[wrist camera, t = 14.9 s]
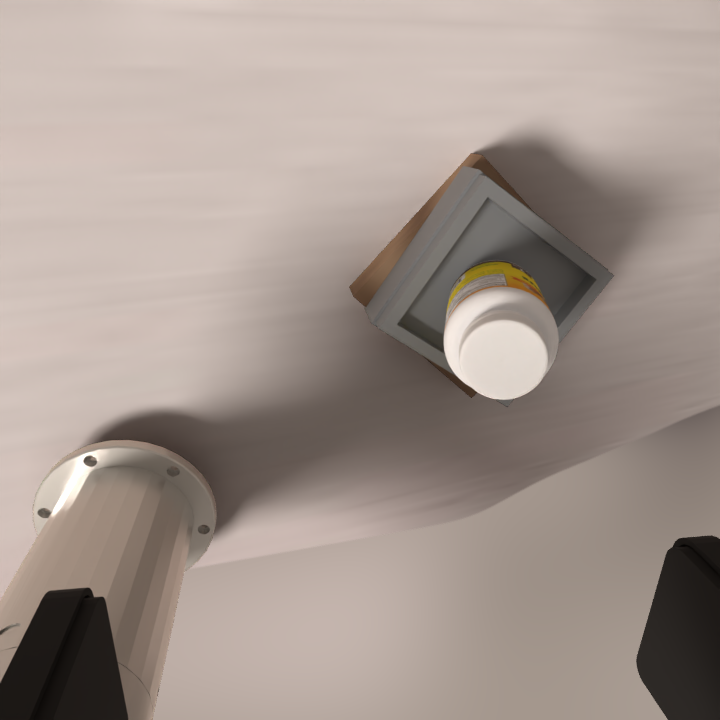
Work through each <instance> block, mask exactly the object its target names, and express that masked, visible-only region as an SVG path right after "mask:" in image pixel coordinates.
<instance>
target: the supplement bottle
mask: <svg viewBox="0 0 720 720" xmlns="http://www.w3.org/2000/svg"><path fill="white" fill-rule="evenodd" d="M558 345H559V335H558V329H557V325H556V322H555V319H554V317H553V315H552V313H551V311H550V309H549V307H548V305H547V303H546V301H545V299H544V297H543V295H542V293H541V291H540V289H539V287H538V285H537V284H536V282H535V280H534V279H533V278H532V276H531V275H530V274H529V273H528V272H527V271H525V270H524V269H523V268H521V267H520V266H518V265H516V264H514V263H511V262H508V261H503V260H489V261H484V262H481V263H478V264H476V265H473V266H472V267H470V268H468V269H467V270H466V271H464V272H463V273H462V274H461V275H460V276H459V277H458V279H457V280H456V281H455V283H454V285H453V287H452V289H451V291H450V295H449V299H448V305H447V313H446V322H445V330H444V351H445V356H446V359H447V361H448V364H449V366H450V367H451V369H452V371H453V372H454V374H455V375H456V376H457V377H458V378H459V379H460V380H461V381H462V382H464V383H465V384H466V385H468V386H470V387H471V388H473V389H474V390H475V391H476V392H478V393H480V394H481V395H484V396H486V397H489V398H492V399H499V400H507V399H514V398H517V397H520V396H523V395H525V394H527V393H528V392H530V391H531V390H533V389H534V388H535V387H536V386H537V385H538V384H539V383H540V382H541V380H542V379H543V377H544V376H545V375H546V373H547V372H548V371H549V370H550V368H551V366H552V364H553V363H554V361H555V358H556V355H557V352H558Z"/></svg>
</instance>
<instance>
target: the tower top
mask: <svg viewBox="0 0 720 720" xmlns="http://www.w3.org/2000/svg"><path fill="white" fill-rule="evenodd" d="M489 260H503V261H508V262H511V263H514V264H516V265H518V266H520V267H521V268H523V269H524V270H525V271H527V272H528V273H529V274H530V275H531V276H532V278H533V279H534V280H535V282H536V284H537V285H538V287H539V289H540V291H541V293H542V295H543V297H544V299H545V301H546V303H547V305H548V307H549V309H550V311H551V313H552V315H553V317H554V319H555V322H556V325H557V329H558V335H559V343H560V342H561V341H562V339H563V338H564V337H565V336H566V334H567V333H568V332H569V331H570V329H571V328H572V327H573V326H574V325H575V323H576V322H577V321H578V320H579V318H580V317H581V316H582V315H583V313H584V312H585V311H586V310H587V309H588V307H589V306H590V305H591V304H592V302H593V301H594V300H595V299H596V297H597V296H598V295H599V294H600V293H601V291H602V290H603V289H604V288H605V286H606V285H607V284H608V283H609V281H610V280H611V279H612V278H613V277H614V275H613V274H612V273H610V272H609V271H608V269H606V268H605V267H604V266H602V265H601V264H600V263H599V262H597V261H596V260H595V259H593V258H592V257H591V256H590V255H588V254H587V253H586V252H584V251H583V250H582V249H581V248H579V247H578V246H577V245H575V244H574V243H573V242H572V241H570V240H569V239H568V238H566V237H565V236H564V235H563V234H561V233H560V232H559V231H557V230H556V229H555V228H554V227H552V226H551V225H550V224H548V223H547V222H546V221H544V220H543V219H542V218H541V217H539V216H538V215H537V214H535V213H534V212H533V211H532V210H530V209H529V208H528V207H526V206H525V205H524V204H523V203H521V202H520V201H519V200H517V199H516V198H515V197H514V196H512V195H511V194H510V193H508V192H507V191H506V190H505V189H503V188H502V187H501V186H499V185H498V184H497V183H496V182H494V181H493V180H492V179H490V178H489V177H488V176H487V175H485V174H484V173H483V172H481V171H480V170H479V169H475V168H470V167H466V166H463V167H462V168H461V170H460V171H459V173H458V174H457V175H456V177H455V178H454V180H453V181H452V183H451V184H450V186H449V187H448V189H447V190H446V191H445V193H444V194H443V196H442V197H441V199H440V200H439V202H438V203H437V205H436V206H435V207H434V209H433V210H432V212H431V213H430V215H429V216H428V218H427V219H426V221H425V222H424V223H423V225H422V226H421V228H420V229H419V231H418V232H417V234H416V235H415V237H414V238H413V239H412V241H411V242H410V244H409V245H408V247H407V248H406V250H405V251H404V253H403V254H402V256H401V257H400V258H399V260H398V261H397V263H396V264H395V266H394V267H393V269H392V270H391V272H390V273H389V274H388V276H387V277H386V279H385V280H384V282H383V283H382V285H381V286H380V288H379V289H378V290H377V292H376V293H375V295H374V296H373V298H372V299H371V301H370V302H369V304H368V305H367V306H366V308H365V311H366V313H367V315H368V317H369V319H370V322H371V323H372V324H373V325H375V326H376V327H378V328H379V329H380V330H382V331H383V332H385V333H386V334H388V335H390V336H391V337H393V338H395V339H396V340H398V341H400V342H401V343H403V344H405V345H406V346H408V347H409V348H411V349H413V350H414V351H416V352H418V353H419V354H421V355H423V356H424V357H426V358H427V359H429V360H431V361H432V362H434V363H436V364H437V365H439V366H441V367H442V368H444V369H445V370H447V371H449V372H450V373H452V374H454V372H453V371H452V369H451V367H450V366H449V364H448V361H447V359H446V356H445V351H444V330H445V322H446V313H447V305H448V299H449V295H450V291H451V289H452V287H453V285H454V283H455V281H456V280H457V279H458V277H459V276H460V275H461V274H462V273H463V272H464V271H466V270H467V269H468V268H470V267H472V266H473V265H476V264H478V263H481V262H484V261H489ZM454 375H455V374H454ZM455 376H456V375H455ZM495 400H496V401H498V402H500V403H501V404H503V405H505V406H506V407H508V406H509V405H510V403H511V402H512V401H513V400H514V399H507V400H499V399H495Z"/></svg>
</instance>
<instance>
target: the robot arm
mask: <svg viewBox="0 0 720 720" xmlns="http://www.w3.org/2000/svg"><path fill="white" fill-rule="evenodd" d="M174 466H175V467H174ZM216 516H217V511H216V502H215V498H214V496H213V493H212V490H211V487H210V486H209V484H208V483H207V481H206V480H205V478H204V476H203V475H202V474H201V473H200V472H199V471H198V470H197V469H196V468H195V467H194V466H193V465H192V464H191V463H190V462H188V461H187V460H185V459H184V458H183V457H181V456H180V455H178V454H176V453H174V452H172V451H170V450H168V449H166V448H164V447H160V446H157V445H154V444H150V443H147V442H140V441H133V440H110V441H104V442H99V443H94V444H91V445H88V446H85V447H83V448H80V449H77V450H75V451H74V452H72V453H70V454H69V455H67V456H65V457H64V458H62V459H61V460H60V461H59V462H58V463H57V464H56V465H55V466H54V467H53V468H52V469H51V470H50V471H49V473H48V474H47V476H46V477H45V478H44V480H43V481H42V483H41V485H40V487H39V489H38V491H37V493H36V496H35V500H34V504H33V522H34V526H35V530H36V533H37V536H38V537H37V538H36V540H35V542H34V543H33V545H32V547H31V548H30V550H29V552H28V554H27V555H26V557H25V559H24V560H23V562H22V564H21V566H20V567H19V569H18V571H17V572H16V574H15V576H14V577H13V579H12V581H11V583H10V584H9V586H8V588H7V589H6V591H5V593H4V595H3V596H2V598H1V600H0V720H152V719H153V715H154V710H155V706H156V701H157V696H158V692H159V687H160V682H161V677H162V672H163V668H164V664H165V659H166V654H167V649H168V645H169V640H170V635H171V631H172V626H173V622H174V617H175V612H176V608H177V603H178V598H179V593H180V589H181V584H182V580H183V575H184V572H185V571H187V570H188V569H189V568H190V567H192V566H193V565H194V564H195V563H196V562H198V561H199V559H200V558H201V557H202V556H203V554H204V553H205V552H206V551H207V549H208V547H209V545H210V543H211V541H212V538H213V534H214V530H215V525H216ZM636 662H637V668H638V672H639V675H640V678H641V679H642V681H643V683H644V684H645V686H646V687H647V689H648V690H649V692H650V693H651V695H652V696H653V698H654V699H655V701H656V702H657V704H658V705H659V707H660V708H661V710H662V711H663V713H664V714H665V716H666V717H667V719H668V720H720V539H719V538H717V537H714V536H700V537H688V538H680V539H678V540H677V541H675V543H674V545H673V547H672V548H671V549H669V550H668V551H667V554H666V557H665V560H664V564H663V567H662V571H661V574H660V578H659V581H658V585H657V589H656V592H655V595H654V599H653V602H652V606H651V609H650V613H649V616H648V620H647V623H646V627H645V630H644V634H643V637H642V641H641V644H640V648H639V651H638V655H637V661H636Z"/></svg>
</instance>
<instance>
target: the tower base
mask: <svg viewBox="0 0 720 720" xmlns="http://www.w3.org/2000/svg"><path fill="white" fill-rule="evenodd" d="M463 166H466V167H470V168H475V169H479V170H480V171H481V172H483V173H484V174H485V175H487V176H488V177H489V178H490V179H492V180H493V181H494V182H496V183H497V184H498V185H499V186H501V187H502V188H503V189H505V190H506V191H507V192H508V193H510V194H511V195H512V196H514V197H515V198H516V199H517V200H519V201H520V202H521V203H523V204H524V205H525V206H526V207H528V208H529V209H530V210H532V209H531V208H530V207H529V206H528V205H527V204H526V203H525V202H524V201H523V199H522V198H521V197H520V196H519V195H518V194H517V193H516V192H515V191H514V190H513V188H512V187H511V186H510V185H509V184H508V183H507V182H506V181H505V180H504V178H503V177H502V176H501V175H500V174H499V173H498V172H497V171H496V170H495V169H494V167H493V166H492V165H491V164H490V163H489V162H488V161H487V160H486V159H485V157H484V156H483V155H478V154H470V155H469V156H468V157H467V159H466V160H465V161H464V162H463V163H462V164H461V165H460V166H459V167H458V168H457V170H456V171H455V172H454V173H453V174H452V175H451V176H450V177H449V178H448V179H447V180H446V182H445V183H444V184H443V185H442V186H441V187H440V188H439V189H438V190H437V191H436V193H435V194H434V195H433V196H432V197H431V198H430V199H429V200H428V201H427V202H426V204H425V205H424V206H423V207H422V208H421V209H420V210H419V211H418V212H417V213H416V215H415V216H414V217H413V218H412V219H411V220H410V221H409V222H408V223H407V224H406V225H405V227H404V228H403V229H402V230H401V231H400V232H399V233H398V234H397V235H396V236H395V238H394V239H393V240H392V241H391V242H390V243H389V244H388V245H387V246H386V247H385V249H384V250H383V251H382V252H381V253H380V254H379V255H378V256H377V257H376V258H375V260H374V261H373V262H372V263H371V264H370V265H369V266H368V267H367V268H366V269H365V270H364V272H363V273H362V274H361V275H360V276H359V277H358V278H357V279H356V280H355V281H354V283H353V284H352V285H351V286H350V290H351V292H352V295H353V297H355V298H356V299H357V300H358V301H359V302H360V303H362V304H363V305H364V306H365V307H366V306H367V305H368V304H369V302H370V301H371V299H372V298H373V296H374V295H375V293H376V292H377V290H378V289H379V288H380V286H381V285H382V283H383V282H384V280H385V279H386V277H387V276H388V274H389V273H390V272H391V270H392V269H393V267H394V266H395V264H396V263H397V261H398V260H399V258H400V257H401V256H402V254H403V253H404V251H405V250H406V248H407V247H408V245H409V244H410V242H411V241H412V239H413V238H414V237H415V235H416V234H417V232H418V231H419V229H420V228H421V226H422V225H423V223H424V222H425V221H426V219H427V218H428V216H429V215H430V213H431V212H432V210H433V209H434V207H435V206H436V205H437V203H438V202H439V200H440V199H441V197H442V196H443V194H444V193H445V191H446V190H447V189H448V187H449V186H450V184H451V183H452V181H453V180H454V178H455V177H456V175H457V174H458V173H459V171H460V170H461V168H462V167H463ZM532 211H533V210H532ZM422 356H423V355H422ZM423 357H424V356H423ZM424 358H426V357H424ZM426 359H427V358H426ZM427 360H428V361H429V362H430V363H431V364H433V365H434V366H435V367H436V368H437V369H438V370H439V371H441V372H442V373H443V374H444V375H445V376H446V377H448V378H449V379H450V380H451V381H452V382H453V383H455V384H456V385H457V386H458V387H459V388H460V389H462V390H463V391H464V392H465V393H466V394H467V395H469V396H470V397H471V398H472V397H473V396H474V395H475V394H476V393H477V392H476V391H475V390H474V389H473V388H471V387H470V386H468V385H466V384H465V383H464V382H462V381H461V380H460V379H459V378H458V377H457V376H455V375H454V374H452V373H450V372H449V371H447V370H445V369H444V368H442V367H441V366H439V365H437V364H436V363H434V362H432V361H431V360H429V359H427Z"/></svg>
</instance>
